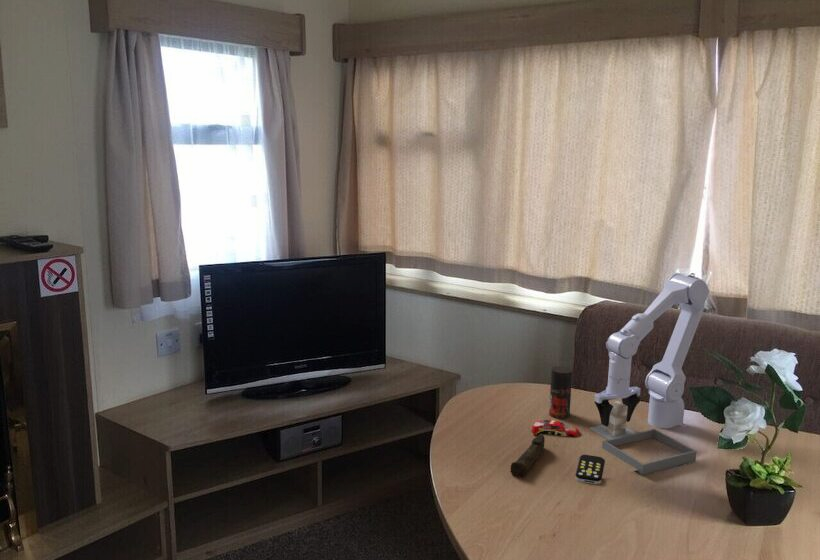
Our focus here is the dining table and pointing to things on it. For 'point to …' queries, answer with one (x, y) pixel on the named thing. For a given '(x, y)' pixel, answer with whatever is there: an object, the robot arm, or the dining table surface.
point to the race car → (554, 428)
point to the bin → (653, 466)
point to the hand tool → (528, 457)
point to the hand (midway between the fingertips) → (615, 422)
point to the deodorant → (560, 392)
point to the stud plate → (607, 435)
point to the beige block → (617, 419)
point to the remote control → (590, 469)
